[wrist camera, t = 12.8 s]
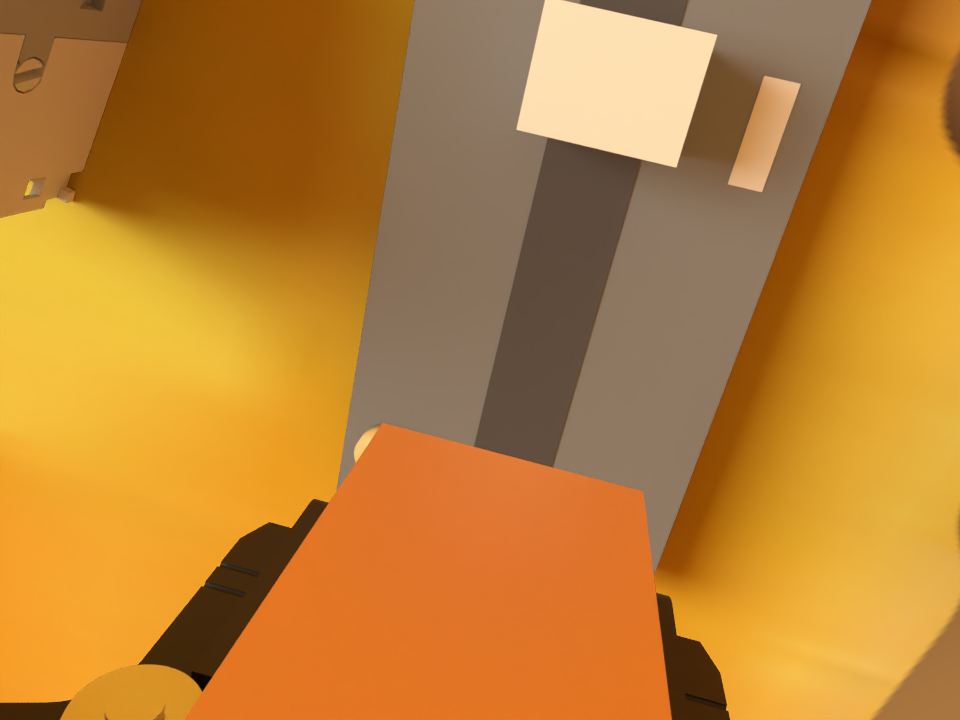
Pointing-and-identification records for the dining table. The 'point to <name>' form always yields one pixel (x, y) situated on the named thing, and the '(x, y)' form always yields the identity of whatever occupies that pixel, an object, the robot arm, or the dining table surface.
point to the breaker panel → (584, 244)
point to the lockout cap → (456, 599)
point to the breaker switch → (614, 81)
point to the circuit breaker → (54, 91)
